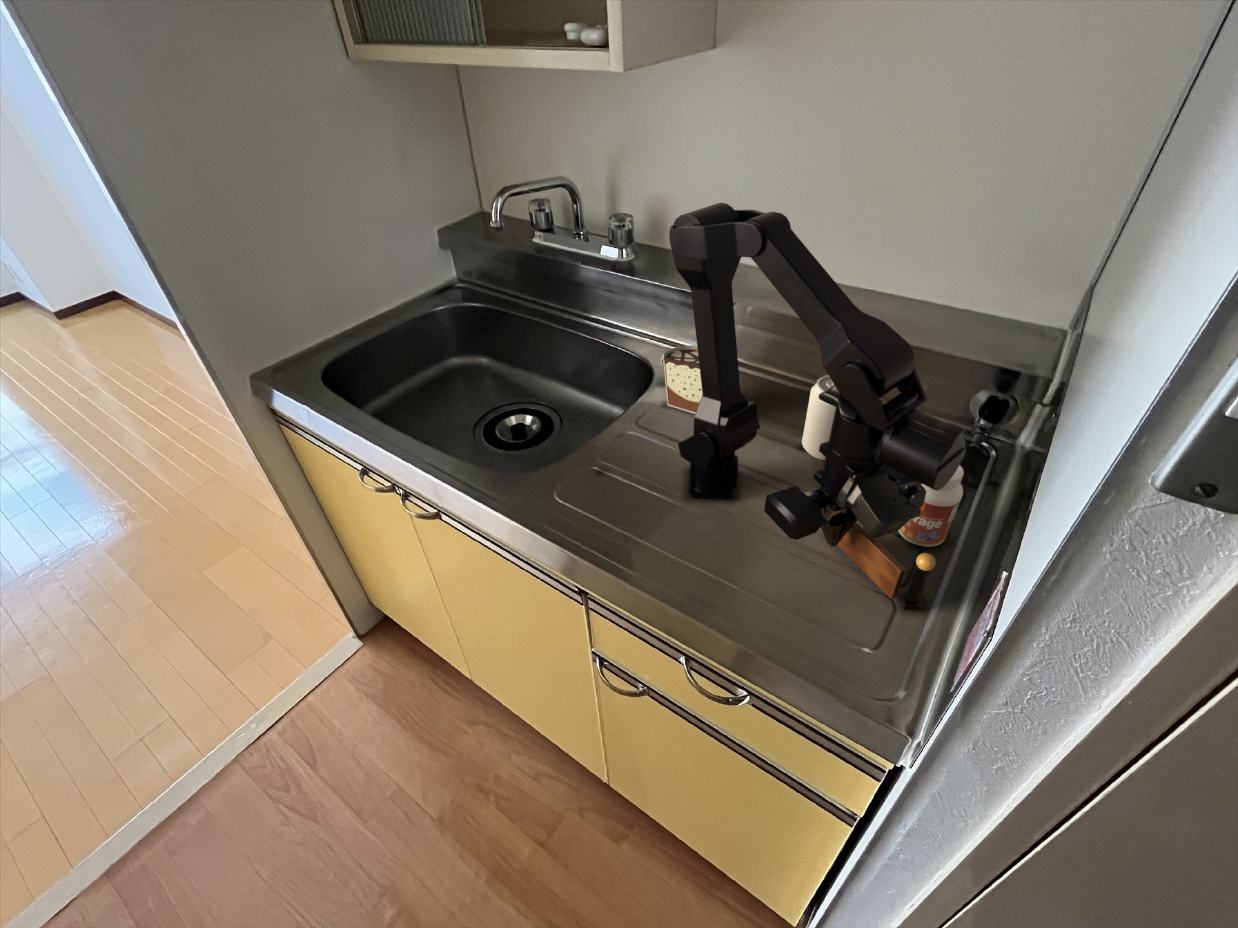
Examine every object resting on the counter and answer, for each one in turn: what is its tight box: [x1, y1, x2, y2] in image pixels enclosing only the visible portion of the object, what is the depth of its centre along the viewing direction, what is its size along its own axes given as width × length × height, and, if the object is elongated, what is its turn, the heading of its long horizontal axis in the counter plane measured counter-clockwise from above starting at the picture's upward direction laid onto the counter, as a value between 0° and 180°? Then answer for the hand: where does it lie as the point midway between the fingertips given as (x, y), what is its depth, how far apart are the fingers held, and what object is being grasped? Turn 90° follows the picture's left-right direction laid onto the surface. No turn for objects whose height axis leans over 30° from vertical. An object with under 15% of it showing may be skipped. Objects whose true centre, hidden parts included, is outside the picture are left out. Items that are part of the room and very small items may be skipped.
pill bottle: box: [898, 464, 965, 548], centre depth 83 cm, size 6×6×11 cm
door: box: [837, 521, 907, 600], centre depth 80 cm, size 12×2×5 cm, turn 23°
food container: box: [660, 344, 702, 415], centre depth 110 cm, size 12×6×10 cm, turn 58°
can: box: [801, 374, 836, 461], centre depth 98 cm, size 8×8×12 cm
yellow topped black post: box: [899, 552, 937, 611], centre depth 74 cm, size 2×2×8 cm
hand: (831, 543), depth 81 cm, fingers closed
